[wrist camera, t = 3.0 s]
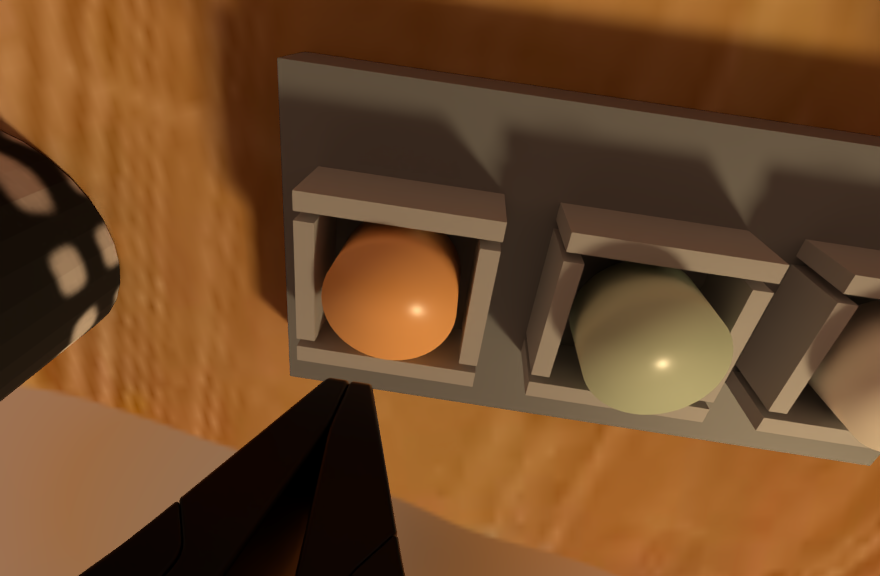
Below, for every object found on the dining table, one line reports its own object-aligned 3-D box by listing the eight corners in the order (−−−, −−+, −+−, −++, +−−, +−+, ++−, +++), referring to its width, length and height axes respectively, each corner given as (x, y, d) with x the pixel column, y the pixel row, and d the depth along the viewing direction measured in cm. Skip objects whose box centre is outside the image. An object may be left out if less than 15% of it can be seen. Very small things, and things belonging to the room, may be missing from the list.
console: (1030, 158, 13) (1223, 211, 10) (833, 422, 18) (915, 519, 15) (304, 51, 13) (240, 66, 10) (308, 341, 18) (267, 418, 15)
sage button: (721, 270, 12) (759, 312, 11) (672, 373, 14) (698, 424, 12) (588, 249, 12) (605, 289, 11) (556, 354, 14) (565, 403, 12)
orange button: (469, 222, 13) (466, 255, 11) (451, 326, 15) (447, 369, 13) (343, 203, 13) (321, 233, 11) (340, 309, 15) (320, 349, 13)
